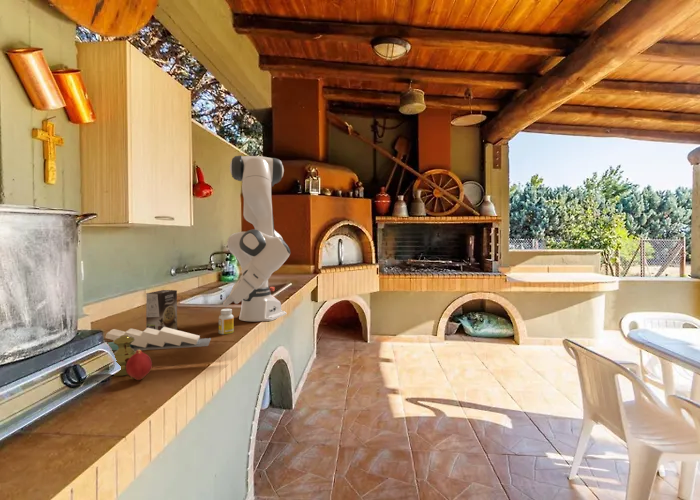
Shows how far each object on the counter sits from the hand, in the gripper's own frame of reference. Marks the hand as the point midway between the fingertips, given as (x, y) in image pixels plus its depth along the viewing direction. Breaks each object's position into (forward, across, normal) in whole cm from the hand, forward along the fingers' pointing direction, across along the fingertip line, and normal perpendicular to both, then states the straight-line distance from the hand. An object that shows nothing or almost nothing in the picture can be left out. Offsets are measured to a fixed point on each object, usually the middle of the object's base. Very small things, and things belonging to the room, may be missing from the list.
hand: (224, 304), depth 123 cm
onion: (+22, +28, -4) cm, 36 cm away
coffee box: (+27, -16, -7) cm, 32 cm away
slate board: (+22, +1, -3) cm, 22 cm away
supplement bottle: (+10, -10, +10) cm, 17 cm away
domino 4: (+18, +1, -2) cm, 18 cm away
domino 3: (+21, +1, -5) cm, 22 cm away
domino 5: (+14, +1, +2) cm, 14 cm away
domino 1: (+25, +1, -9) cm, 26 cm away
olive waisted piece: (+26, +21, -8) cm, 35 cm away
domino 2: (+28, +1, -12) cm, 31 cm away
